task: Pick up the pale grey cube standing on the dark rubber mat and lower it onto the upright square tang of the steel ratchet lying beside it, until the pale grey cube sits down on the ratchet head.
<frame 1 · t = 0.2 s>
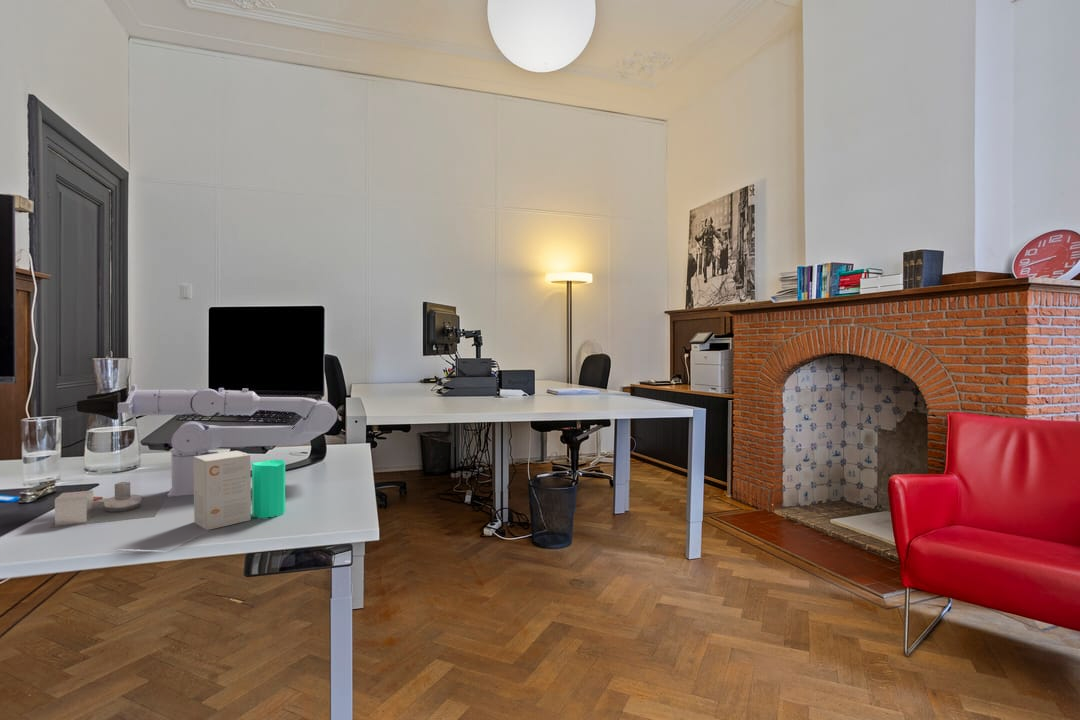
hand: (82, 403, 116), 21 cm above the table, tool horizontal, fingers open, 7 cm apart
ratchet: (122, 508, 112), resting on mat
candle: (268, 514, 111), on the table
pale grey cube: (74, 520, 104), resting on mat
mat: (114, 511, 111), on the table
small box: (222, 523, 105), on the table
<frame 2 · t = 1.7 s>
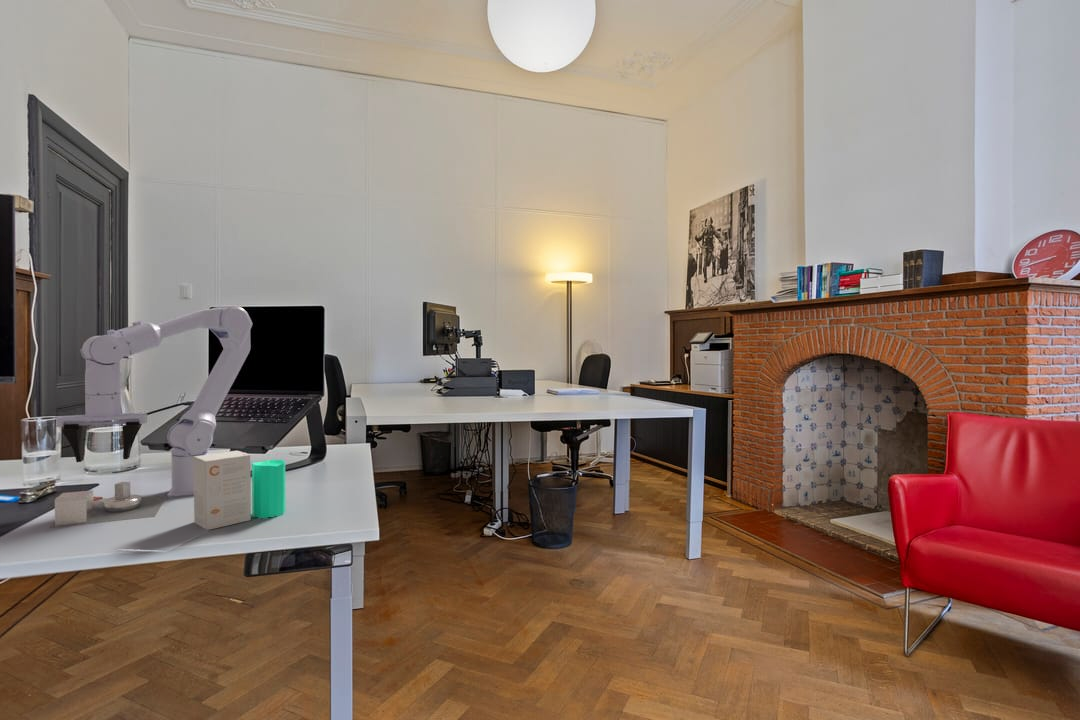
hand: (103, 459, 113), 10 cm above the table, tool pointing down, fingers open, 7 cm apart
nothing on the table moved.
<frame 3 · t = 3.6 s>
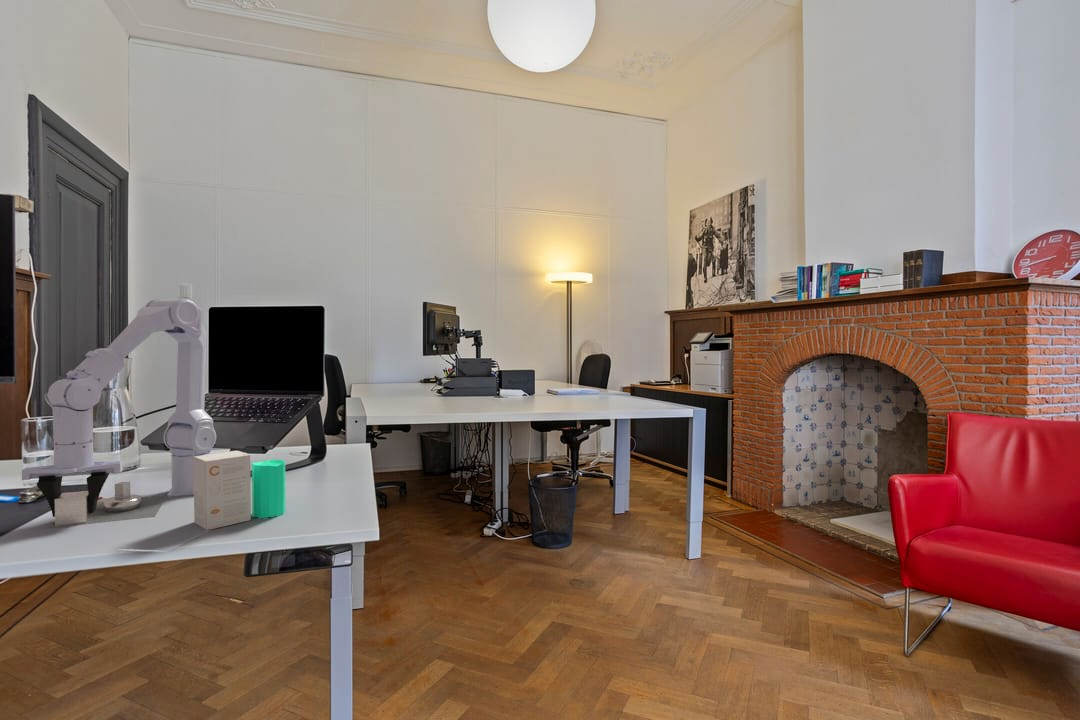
hand: (74, 513, 104), 2 cm above the table, tool pointing down, fingers closed on pale grey cube, 5 cm apart
pale grey cube: (74, 520, 104), resting on mat, touching gripper
everything else where it was.
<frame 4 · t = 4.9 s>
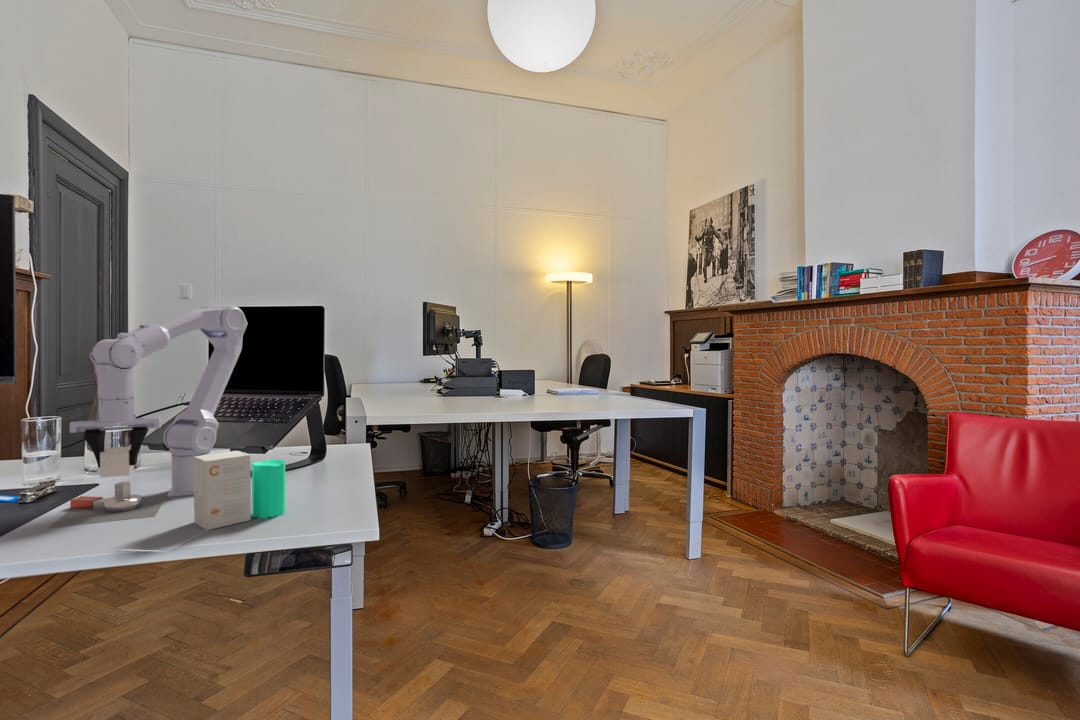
hand: (117, 465, 111), 9 cm above the table, tool pointing down, fingers closed on pale grey cube, 5 cm apart
pale grey cube: (117, 473, 111), point 8 cm above the table, touching gripper
everything else where it was.
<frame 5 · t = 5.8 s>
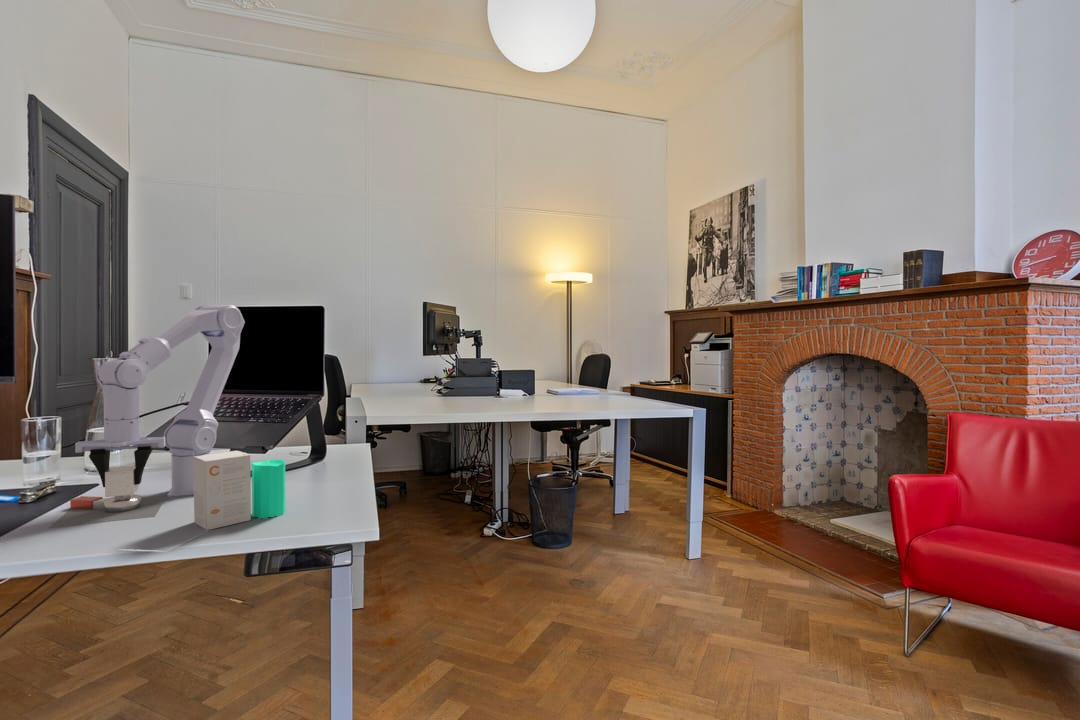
hand: (122, 484, 112), 5 cm above the table, tool pointing down, fingers closed on pale grey cube, 5 cm apart
pale grey cube: (122, 492, 112), point 4 cm above the table, touching gripper
everything else where it was.
when the fingers open (4 cm above the table, at t = 6.4 s): pale grey cube stays where it is, resting on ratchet.
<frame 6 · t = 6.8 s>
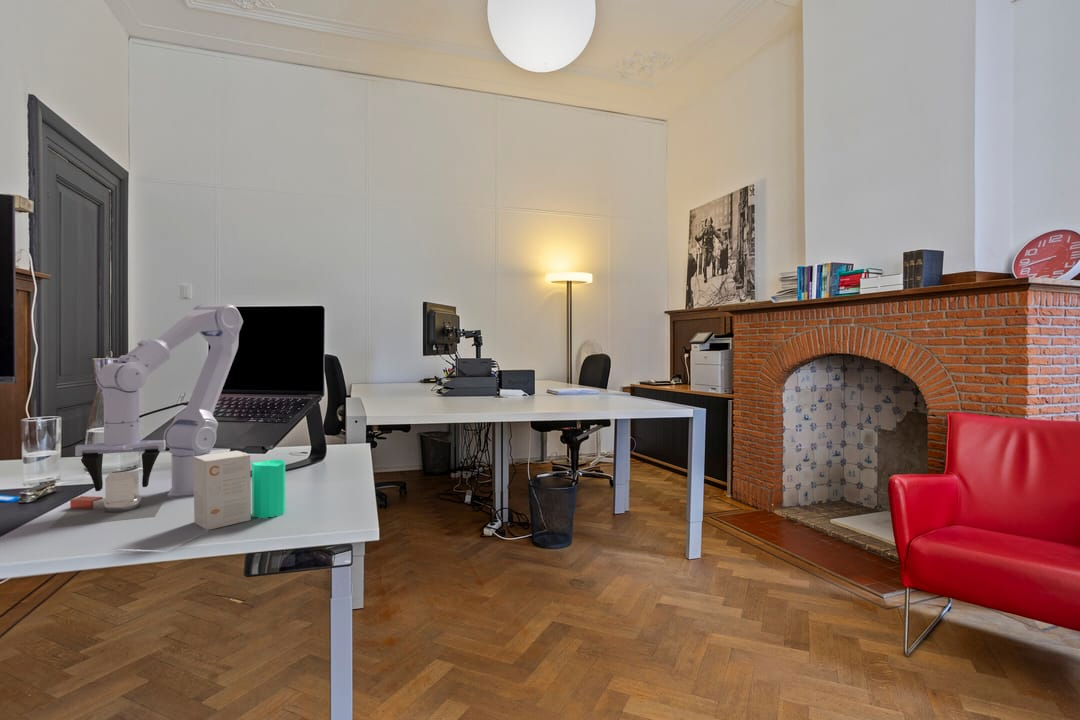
hand: (122, 487, 112), 4 cm above the table, tool pointing down, fingers open, 7 cm apart
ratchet: (122, 508, 112), resting on mat, touching pale grey cube
pale grey cube: (122, 498, 112), point 2 cm above the table, touching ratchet
everything else where it was.
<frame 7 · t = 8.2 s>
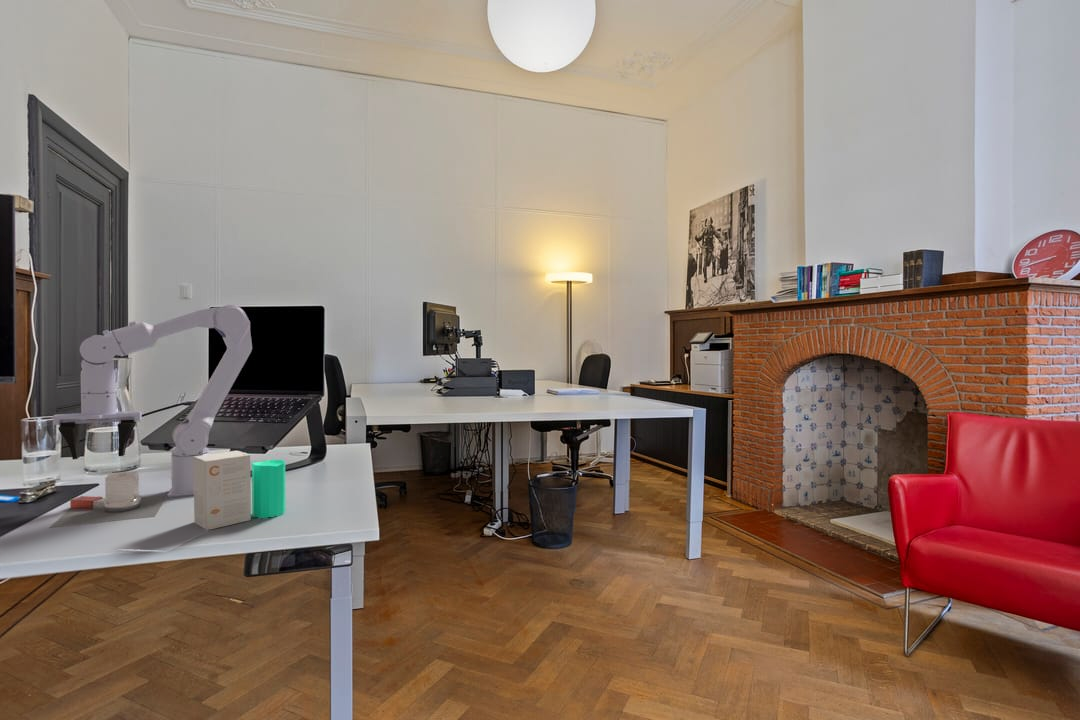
hand: (99, 456, 116), 10 cm above the table, tool pointing down, fingers open, 7 cm apart
nothing on the table moved.
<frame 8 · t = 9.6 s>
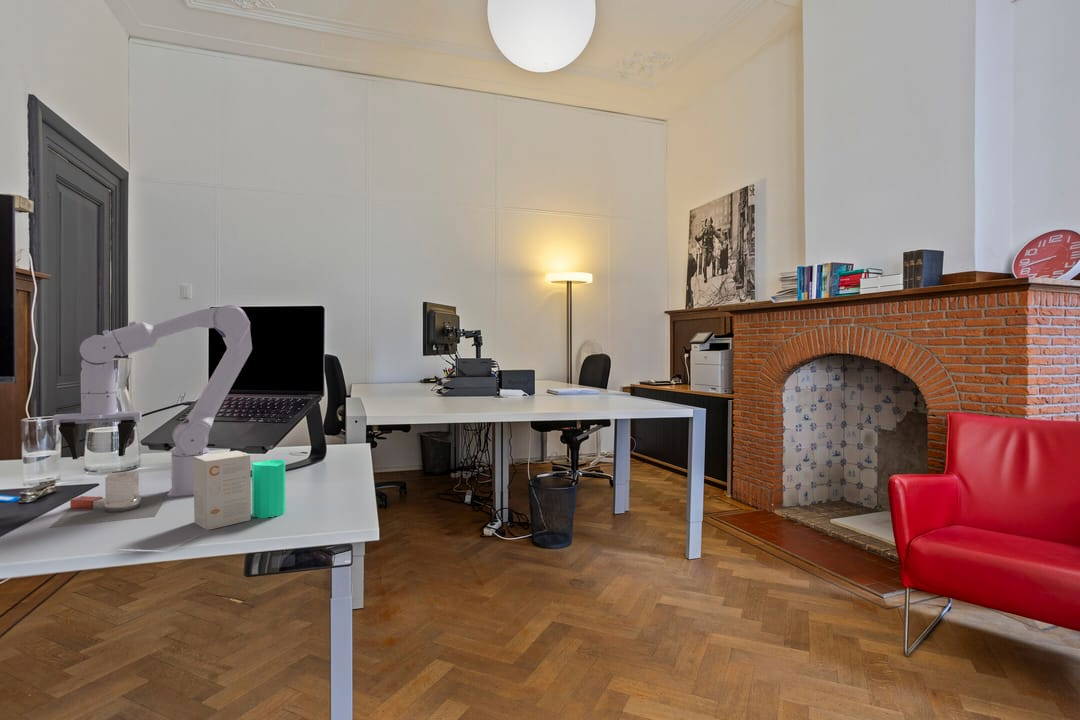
hand: (99, 456, 116), 10 cm above the table, tool pointing down, fingers open, 7 cm apart
nothing on the table moved.
at the end: pale grey cube 0.1 cm off-centre on the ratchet, point 2.0 cm above the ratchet's base; pale grey cube tilted 0°; the gripper is holding nothing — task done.
